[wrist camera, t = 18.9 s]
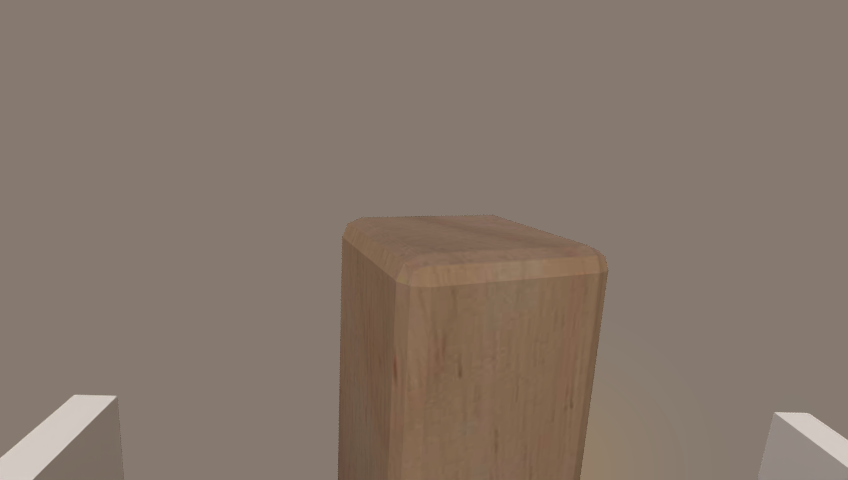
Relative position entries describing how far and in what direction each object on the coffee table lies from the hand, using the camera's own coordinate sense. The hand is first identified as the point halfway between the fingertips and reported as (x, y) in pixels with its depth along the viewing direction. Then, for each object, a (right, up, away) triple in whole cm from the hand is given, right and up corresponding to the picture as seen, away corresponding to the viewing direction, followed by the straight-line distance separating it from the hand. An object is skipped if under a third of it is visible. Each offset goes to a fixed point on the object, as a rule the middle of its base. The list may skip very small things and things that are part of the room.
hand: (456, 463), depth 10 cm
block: (0, -15, +18) cm, 23 cm away
